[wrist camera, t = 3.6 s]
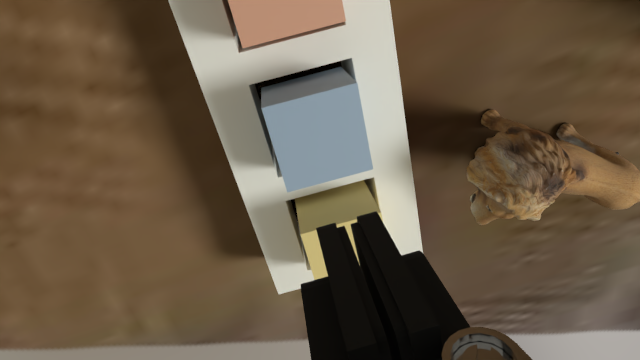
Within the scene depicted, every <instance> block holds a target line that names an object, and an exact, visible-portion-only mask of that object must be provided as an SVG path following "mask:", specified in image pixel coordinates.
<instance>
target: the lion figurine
mask: <svg viewBox="0 0 640 360" xmlns="http://www.w3.org/2000/svg"><path fill="white" fill-rule="evenodd" d="M481 124H482V125H484V126H486V127H488V128H489V129H490V130H494V131H499V132H498V133H497V134H496V135H495V136H494V137H492V138H487V139H486V144H485V145H484V146H483V147H480V148H478V149H477V150H476V152H475V153H474V154H475V158H474V159H473V160H471V161H470V163H469V166H468V167H467V178H468V181H470V182H472V183H473V184H474V185H476V186H477V188H478V190H477V191H476V192H475V193H474V194H472V195H471V197H470V201H471V203H472V205H471V211H472V213H473V215H474V216H475V219H476V222H477V223H478V224H480V225H484V224H487V223H489V222H490V221H492V220H495V219H497V218H503V219H509V218H512V217H514V216H516V217H517V219H521V220H525V219H531V220H532V221H536V220H540V218H541V213H542V211H543V210H544V209H545V208H546V207H549V205H550V204H552V203H554V201H555V198H557V197H558V196H559V195H560V193H566V194H579V195H584V196H585V197H586V198H588V199H590V200H592V201H594V202H596V203H598V204H600V205H602V206H604V207H606V208H610V209H626V208H629V207H631V206H632V205H633V204H635V203H637V202H640V171H639V170H638V169H637V168H636V167H635V166H634V165H633V164H632V163H630V162H629V161H627V160H626V159H625V158H623V157H622V156H620V155H619V153H618V152H612V151H610V150H608V149H605V148H603V147H600V146H597V145H594V144H592V143H591V142H590V141H588V140H587V139H585V138H583V137H582V136H581V135H580V134H578V133H577V132H576V130H575V129H574V127H573V126H572V125H571V124H569V123H565V124H562V125H561V126H560V128H559V129H558V131H557V136H558V137H559V138H560V139H562V140H564V141H567V142H564V141H558V140H554V139H553V138H552V137H551V136H550V135H548V134H547V133H545V132H542V131H539V130H536V129H530V128H529V127H527V126H526V125H524V124H521V123H518V122H514V121H512V120H508V119H504V118H503V117H501V116H500V115H499V113H498V112H497V111H495V110H489V111H486V112H485V113H484V114H483V115H482V119H481ZM568 142H570V143H568Z"/></svg>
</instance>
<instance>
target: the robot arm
mask: <svg viewBox="0 0 640 360" xmlns="http://www.w3.org/2000/svg"><path fill="white" fill-rule="evenodd" d="M351 229H352V234H353V238H354V242H355V247H356V251H357V255H358V259H359V262H358V260H357V257H356V254H355V252H354V249H353V246H352V244H351V241H350V239H349V236H348V233H347V231H346V228H345V226H341V227H338V228H337V226H336V223H332V224H328V225H325V226H321V227H318V228H316V230H317V234H318V238H319V242H320V246H321V250H322V254H323V258H324V262H325V266H326V270H327V274H328V276H327V277H324V278H320V279H317V280H313V281H310V282H306V283H302V284H301V293H302V299H303V306H304V313H305V320H306V326H307V333H308V340H309V345H310V346H309V347H310V353H311V360H532V359H531V358H530V357H529V356H528V355H527V354H526V353H525V352H524V351H523V350H522V349H521V348H520V347H519V346H518V344H517V343H515V342H514V341H513V340H512V339H510V338H509V337H508V336H507V335H505V334H502V333H500V332H498V331H496V330H493V329H489V328H484V327H470V326H469V324H468V323H467V321H466V320H465V318H464V316H463V315H462V313H461V312H460V310H459V309H458V307H457V305H456V304H455V302H454V301H453V299H452V298H451V296H450V295H449V293H448V291H447V290H446V288H445V287H444V285H443V284H442V282H441V281H440V279H439V277H438V276H437V274H436V273H435V271H434V270H433V268H432V267H431V265H430V263H429V262H428V260H427V259H426V257H425V256H424V254H423V253H422V252H421V251H415V252H412V253H408V254H405V255H401V254H400V252H399V250H398V249H397V247H396V245H395V243H394V241H393V240H392V238H391V236H390V234H389V232H388V231H387V229H386V227H385V225H384V223H383V222H382V220H381V218H380V216H379V214H378V213H377V211H375V212H371V213H368V214H364V215H361V216H357V222H356V223H352V224H351ZM359 264H360V265H359Z"/></svg>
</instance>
